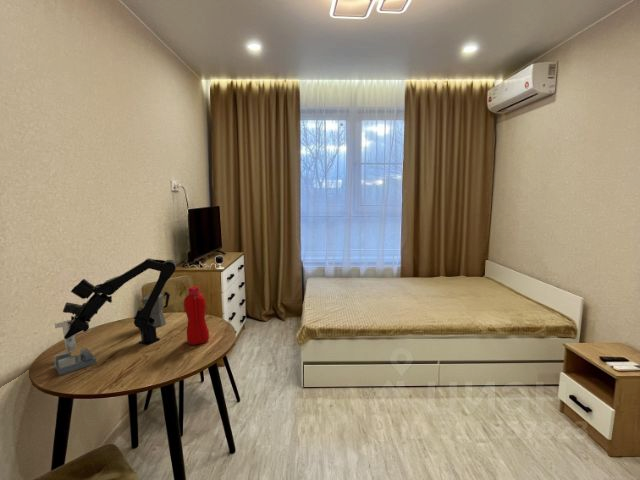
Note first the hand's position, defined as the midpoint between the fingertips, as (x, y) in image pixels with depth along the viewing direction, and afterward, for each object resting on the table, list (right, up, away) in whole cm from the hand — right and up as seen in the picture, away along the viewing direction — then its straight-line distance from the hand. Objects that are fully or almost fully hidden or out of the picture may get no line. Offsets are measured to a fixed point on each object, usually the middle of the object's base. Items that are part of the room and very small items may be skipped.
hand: (65, 336), depth 143 cm
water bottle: (+51, -6, +12) cm, 53 cm away
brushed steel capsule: (0, -6, +1) cm, 6 cm away
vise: (+9, -9, -6) cm, 14 cm away
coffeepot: (+22, -4, +36) cm, 42 cm away
